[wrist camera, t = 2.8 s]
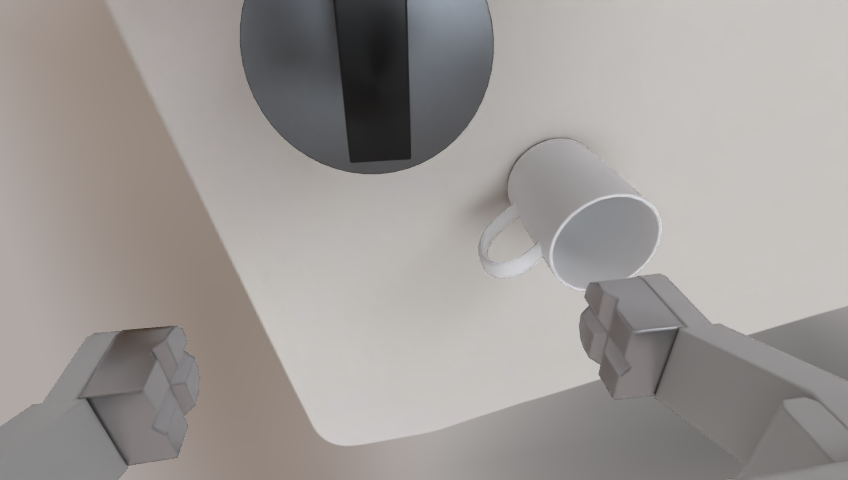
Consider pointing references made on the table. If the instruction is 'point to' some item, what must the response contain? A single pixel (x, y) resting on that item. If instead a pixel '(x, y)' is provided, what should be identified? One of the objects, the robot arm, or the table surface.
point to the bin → (368, 76)
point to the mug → (575, 217)
